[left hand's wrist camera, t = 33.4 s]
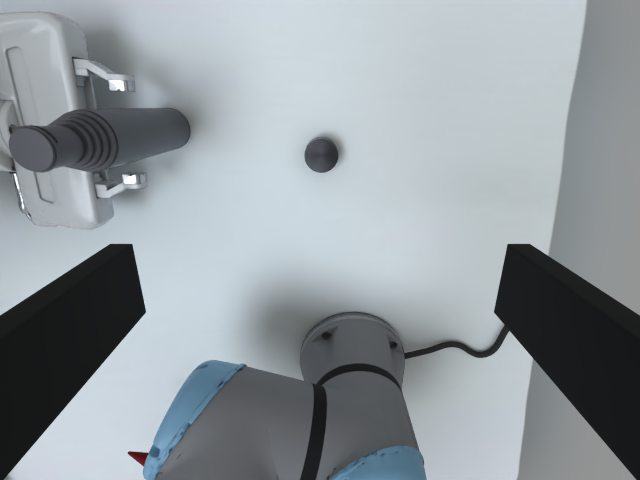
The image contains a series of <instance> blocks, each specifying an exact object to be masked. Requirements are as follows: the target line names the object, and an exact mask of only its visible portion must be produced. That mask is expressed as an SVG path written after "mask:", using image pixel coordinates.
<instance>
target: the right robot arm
mask: <svg viewBox="0 0 640 480" xmlns="http://www.w3.org/2000/svg"><path fill="white" fill-rule="evenodd" d="M92 77H102V78H103V79H105V80H107V81H108V83H109V89H110V90H112V91H127V92H135V82H134V76H131V75H123V74H116V73H115V72H113V71H112V70H110V69H109V68H107V67H106V66H104V65H102V64H101V63H99V62H96V61H91V60H89V57H88V51H87V45H86V38H85V33H84V30H83V29H82V28H81V27H80V26H79V25H78V24H76V23H75V22H74V21H72V20H71V19H69V18H66V17H64V16H61V15H57V14H53V13H48V12H13V13H3V14H0V171H6V172H10V174H11V178H12V182H13V186H14V188H15V191H16V193H17V196H18V200H19V201H18V205H19V208H20V210H21V212H22V213H26V215H27V217H28V218H29V219H30V220H31V221H32V222H33V223H34V224H35V225H38V226H53V227H55V226H64V227H70V228H77V229H95V228H97V227H100V226H102V225H103V224H105V223H106V222H108V221H109V220H110V219H111V218H112V217H113V216H114V211H113V205H112V199H111V197H112V196H114V195H117V194H119V193H121V192H123V191H124V190H126V189H128V188H129V189H142V188H145V187H147V179H146V173H145V172H140V173H138V172H128V173H125V174H122V177H123V182H122V183H120V184H119V185H117V182H116V181H109V180H108V174H107V170H103V171H99V172H86V171H81V170H77V169H72V168H68V167H59V168H55V169H53V170H51V171H49V172H44V173H40V172H33V171H30V170H27V169H25V168H23V167H22V166H20V165H19V164H18V163H17V162H16V161H15V159H14V158H13V157H12V155H11V153H10V150H9V138H10V136H11V134H12V133H13V132H14V131H15V130H14V129H15V128H17V127H19V126H25V125H27V126H28V125H35V126H47V125H49V124H50V123H52V122H53V121H54V120H56V119H57V118H59V117H60V116H61V115H63V114H64V113H67V112H70V111H73V110H77V109H97V106H96V100H95V94H94V88H93V82H92Z"/></svg>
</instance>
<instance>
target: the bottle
mask: <svg viewBox="0 0 640 480" xmlns="http://www.w3.org/2000/svg"><path fill="white" fill-rule="evenodd" d="M14 130H15V131H14V132H13V133H12V134H11V136H10V138H9V150H10V153H11V155H12V157H13V158H14V159H15V161H16V162H17V163H18V164H19V165H20V166H22V167H23V168H25V169H27V170H30V171H33V172H40V173H44V172H49V171H51V170H53V169H55V168H59V167H68V168H72V169H77V170H81V171H86V172H99V171H103V170H107V169H110V168H113V167H117V166H120V165H124V164H127V163H130V162H134V161H137V160H140V159H144V158H147V157H150V156H154V155H157V154H160V153H164V152H167V151H171V150H174V149H177V148H180V147H182V146H184V145H185V144H186V143H187V141H188V139H189V137H190V126H189V123H188V121H187V119H186V118H185V117H184V115H183V114H182V113H180V112H179V111H177V110H175V109H172V108H132V109H77V110H73V111H70V112H67V113H64V114H63V115H61V116H60V117H59V118H57V119H56V120H54V121H53V122H52V123H50V124H49V125H47V126H35V125H28V126H27V125H25V126H19V127H17V128H15V129H14Z"/></svg>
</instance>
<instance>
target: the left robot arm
mask: <svg viewBox="0 0 640 480" xmlns="http://www.w3.org/2000/svg"><path fill="white" fill-rule="evenodd" d="M145 313H146V310H145V305H144V300H143V295H142V290H141V285H140V280H139V275H138V270H137V265H136V260H135V255H134V250H133V245H132V244H110V245H108V246H107V247H105V248H103V249H102V250H100V251H99V252H97V253H96V254H94V255H93V256H91V257H90V258H88V259H87V260H85V261H83V262H82V263H80V264H79V265H77V266H76V267H74V268H73V269H71V270H70V271H68V272H67V273H65V274H63V275H62V276H60V277H59V278H57V279H56V280H54V281H53V282H51V283H50V284H48V285H47V286H45V287H43V288H42V289H40V290H39V291H37V292H36V293H34V294H33V295H31V296H30V297H28V298H27V299H25V300H24V301H22V302H20V303H19V304H17V305H16V306H14V307H13V308H11V309H10V310H8V311H7V312H5V313H4V314H2V315H0V480H4V478H5V477H6V476H7V475H8V474H9V473H10V471H11V470H12V469H13V468H14V467H15V466H16V464H17V463H18V462H19V461H20V460H21V458H22V457H23V456H24V455H25V454H26V453H27V451H28V450H29V449H30V448H31V447H32V446H33V444H34V443H35V442H36V441H37V440H38V439H39V437H40V436H41V435H42V434H43V433H44V431H45V430H46V429H47V428H48V427H49V426H50V424H51V423H52V422H53V421H54V420H55V419H56V417H57V416H58V415H59V414H60V413H61V411H62V410H63V409H64V408H65V407H66V406H67V404H68V403H69V402H70V401H71V400H72V399H73V397H74V396H75V395H76V394H77V393H78V391H79V390H80V389H81V388H82V387H83V386H84V384H85V383H86V382H87V381H88V380H89V379H90V377H91V376H92V375H93V374H94V373H95V371H96V370H97V369H98V368H99V367H100V366H101V364H102V363H103V362H104V361H105V360H106V359H107V357H108V356H109V355H110V354H111V353H112V352H113V350H114V349H115V348H116V347H117V346H118V344H119V343H120V342H121V341H122V340H123V339H124V337H125V336H126V335H127V334H128V333H129V332H130V330H131V329H132V328H133V327H134V326H135V324H136V323H137V322H138V321H139V320H140V319H141V317H142V316H143V315H144V314H145ZM494 313H495V314H496V315H497V316H498V317H499V319H500V320H501V321H502V322H503V323H504V324H505V327H504V328H503V330H502V331H501V333H500V335H499V337H498V339H497V341H496V342H495V344H494V345H493V347H492V348H491V349H489V350H487V351H485V352H476V351H473V350H472V349H470V348H469V347H467V346H465V345H463V344H461V343H459V342H444V343H441V344H438V345H435V346H432V347H429V348H425V349H421V350H417V351H412V352H408V353H404V351H403V347H402V344H401V341H400V339H399V337H398V335H397V333H396V332H395V331H394V329H393V328H392V327H391V326H390V325H389V324H387V323H386V322H385V321H383V320H381V319H379V318H377V317H375V316H372V315H369V314H365V313H357V312H350V313H342V314H337V315H334V316H331V317H329V318H326V319H325V320H323V321H321V322H320V323H318V324H317V325H316V326H315V327H314V328H313V329H312V330H311V331H310V332H309V333H308V335H307V336H306V338H305V340H304V342H303V345H302V349H301V359H300V364H301V370H302V375H303V378H304V380H305V381H302V380H298V379H294V378H290V377H286V376H282V375H278V374H274V373H270V372H266V371H262V370H258V369H254V368H251V367H247V365H245V364H239V365H238V364H233V363H227V362H222V361H217V360H210V361H206V362H204V363H202V364H200V365H199V366H198V367H197V368H196V369H195V370H194V371H193V372H192V373H191V374H190V376H189V377H188V378H187V380H186V381H185V383H184V384H183V386H182V387H181V389H180V390H179V392H178V394H177V395H176V397H175V399H174V401H173V402H172V404H171V406H170V408H169V410H168V412H167V413H166V415H165V417H164V419H163V421H162V423H161V425H160V427H159V430H158V432H157V434H156V436H155V439H154V442H153V443H154V444H153V445H152V447H151V450H150V452H149V454H148V456H147V458H146V461H145V464H144V469H143V476H144V478H145V479H146V480H427V479H426V474H425V469H424V459H423V456H422V455H421V452H420V451H419V448H418V444H417V441H416V438H415V434H414V431H413V427H412V424H411V420H410V417H409V414H408V410H407V407H406V403H405V400H404V397H403V394H402V390H401V389H402V381H403V374H404V366H405V359H407V358H412V357H416V356H420V355H424V354H429V353H432V352H435V351H438V350H441V349H444V348H448V347H457V348H460V349H462V350H464V351H465V352H467V353H468V354H470V355H472V356H474V357H478V358H484V357H488V356H490V355H492V354H494V353H495V352H496V351H497V350H498V349H499V348H500V346H501V344H502V343H503V341H504V339H505V337H506V335H507V333H508V332H509V331H510V332H511V333H512V334H513V335H514V336H515V337H516V339H517V340H518V341H519V342H520V343H521V344H522V346H523V347H524V348H525V349H526V350H527V352H528V353H529V354H530V355H531V356H532V357H533V359H534V360H535V361H536V362H537V363H538V364H539V366H540V367H541V368H542V369H543V370H544V371H545V373H546V374H547V375H548V376H549V377H550V379H551V380H552V381H553V382H554V383H555V384H556V386H557V387H558V388H559V389H560V390H561V391H562V393H563V394H564V395H565V396H566V397H567V399H568V400H569V401H570V402H571V403H572V404H573V406H574V407H575V408H576V409H577V410H578V411H579V413H580V414H581V415H582V416H583V417H584V418H585V420H586V421H587V422H588V423H589V424H590V425H591V427H592V428H593V429H594V430H595V431H596V433H597V434H598V435H599V436H600V437H601V439H602V440H603V441H604V442H605V443H606V444H607V446H608V447H609V448H610V449H611V450H612V451H613V453H614V454H615V455H616V456H617V457H618V458H619V460H620V461H621V462H622V463H623V464H624V466H625V467H626V468H627V469H628V470H629V471H630V473H631V474H632V475H633V476H634V477H635V478H636V480H640V316H639V315H638V314H636V313H635V312H633V311H632V310H630V309H629V308H627V307H626V306H624V305H623V304H621V303H620V302H618V301H616V300H615V299H613V298H612V297H610V296H609V295H607V294H606V293H604V292H603V291H601V290H600V289H598V288H597V287H595V286H593V285H592V284H590V283H589V282H587V281H586V280H584V279H583V278H581V277H580V276H578V275H577V274H575V273H573V272H572V271H570V270H569V269H567V268H566V267H564V266H563V265H561V264H560V263H558V262H556V261H555V260H553V259H552V258H550V257H549V256H547V255H546V254H544V253H543V252H541V251H540V250H538V249H537V248H535V247H533V246H532V245H530V244H508V245H507V250H506V255H505V260H504V265H503V270H502V275H501V280H500V285H499V290H498V295H497V300H496V305H495V310H494Z"/></svg>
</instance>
